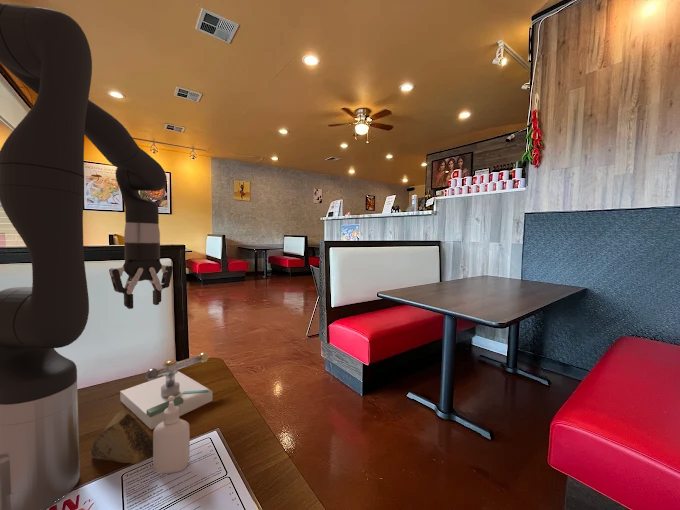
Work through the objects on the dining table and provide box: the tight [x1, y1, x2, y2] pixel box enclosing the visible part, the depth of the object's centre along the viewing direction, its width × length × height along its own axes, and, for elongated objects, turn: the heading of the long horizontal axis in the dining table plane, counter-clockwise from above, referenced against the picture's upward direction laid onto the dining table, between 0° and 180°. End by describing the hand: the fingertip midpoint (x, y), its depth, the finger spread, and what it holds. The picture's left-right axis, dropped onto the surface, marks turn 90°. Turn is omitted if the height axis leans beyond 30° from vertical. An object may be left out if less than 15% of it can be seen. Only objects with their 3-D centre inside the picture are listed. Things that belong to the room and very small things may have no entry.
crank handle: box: [145, 351, 209, 387], centre depth 73 cm, size 15×3×6 cm, turn 144°
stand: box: [119, 371, 213, 430], centre depth 72 cm, size 14×18×5 cm
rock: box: [90, 410, 153, 465], centre depth 55 cm, size 11×9×10 cm
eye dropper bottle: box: [152, 401, 191, 474], centre depth 51 cm, size 4×6×12 cm
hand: (143, 306), depth 74 cm, fingers open, 5 cm apart
